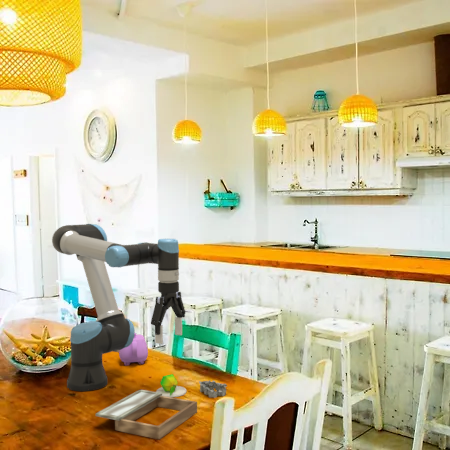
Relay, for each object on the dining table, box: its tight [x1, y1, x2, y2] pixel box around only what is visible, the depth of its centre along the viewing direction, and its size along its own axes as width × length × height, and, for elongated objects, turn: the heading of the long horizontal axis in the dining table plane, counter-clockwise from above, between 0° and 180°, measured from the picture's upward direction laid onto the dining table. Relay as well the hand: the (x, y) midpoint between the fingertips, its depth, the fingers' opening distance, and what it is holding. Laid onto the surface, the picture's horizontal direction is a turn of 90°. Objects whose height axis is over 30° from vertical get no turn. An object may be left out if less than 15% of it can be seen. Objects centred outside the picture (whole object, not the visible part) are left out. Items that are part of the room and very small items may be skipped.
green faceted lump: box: [159, 374, 178, 395], centre depth 200 cm, size 7×6×9 cm
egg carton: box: [198, 379, 228, 399], centre depth 200 cm, size 11×8×4 cm
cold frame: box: [95, 389, 198, 440], centre depth 176 cm, size 23×24×4 cm
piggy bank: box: [118, 332, 149, 366], centre depth 241 cm, size 20×12×13 cm, turn 14°
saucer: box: [155, 385, 187, 398], centre depth 201 cm, size 11×11×1 cm
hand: (169, 338), depth 200 cm, fingers open, 13 cm apart
